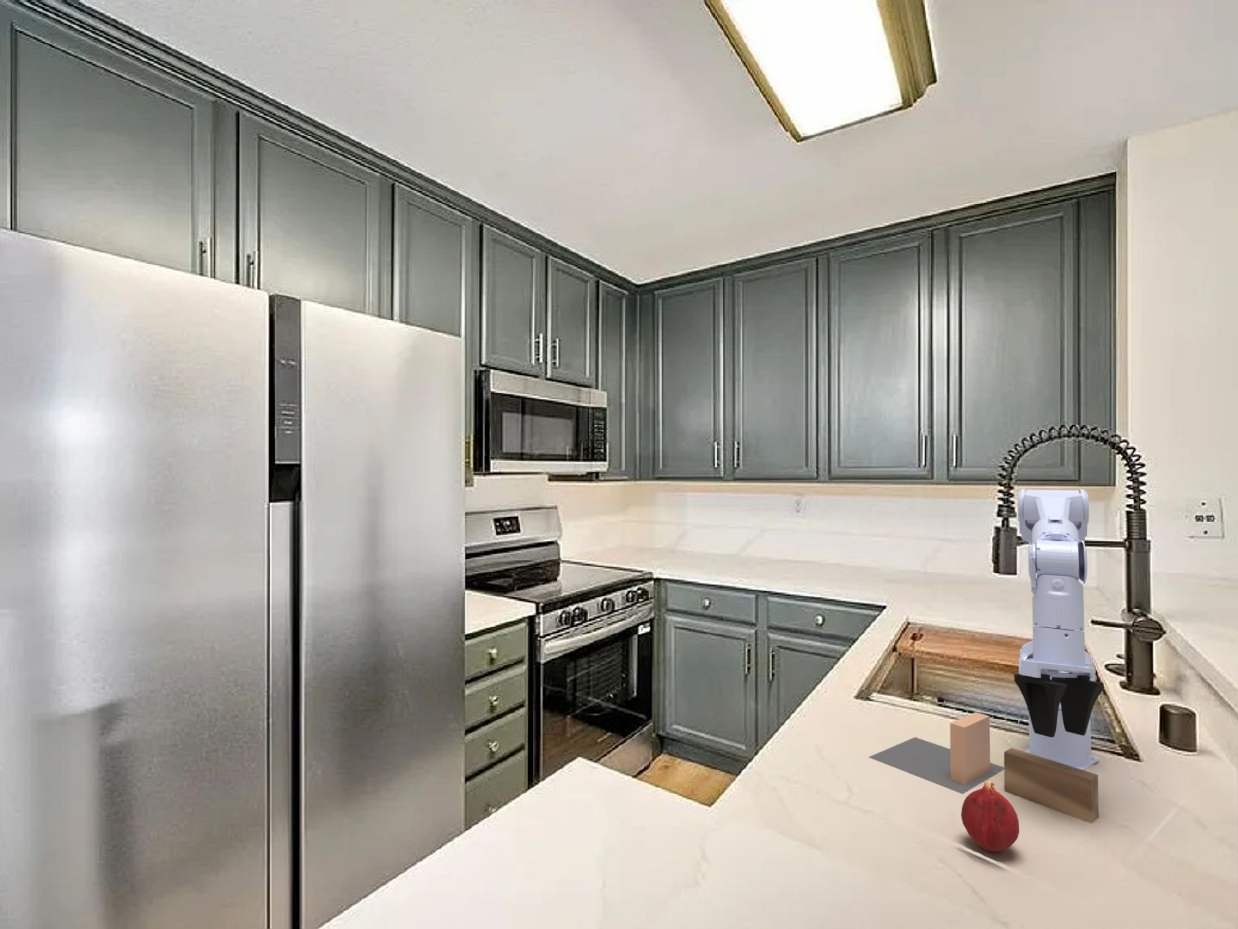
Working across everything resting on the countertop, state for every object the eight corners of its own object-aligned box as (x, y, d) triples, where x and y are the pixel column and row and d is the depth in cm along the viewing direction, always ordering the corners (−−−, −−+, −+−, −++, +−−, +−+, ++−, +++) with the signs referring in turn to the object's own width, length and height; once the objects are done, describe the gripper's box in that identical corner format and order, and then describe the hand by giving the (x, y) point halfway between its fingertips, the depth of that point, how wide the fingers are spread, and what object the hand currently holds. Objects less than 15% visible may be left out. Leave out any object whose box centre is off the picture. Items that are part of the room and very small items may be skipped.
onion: (1029, 871, 67) (1028, 797, 68) (972, 863, 69) (971, 791, 69) (1006, 842, 73) (1006, 773, 73) (954, 835, 74) (954, 768, 75)
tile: (975, 765, 93) (975, 712, 93) (990, 770, 91) (989, 716, 92) (950, 779, 88) (950, 723, 88) (965, 785, 86) (964, 727, 87)
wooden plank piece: (1012, 790, 86) (1011, 747, 87) (1098, 822, 78) (1097, 774, 78) (1004, 795, 85) (1004, 751, 85) (1092, 828, 77) (1091, 779, 77)
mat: (914, 740, 103) (914, 737, 103) (1006, 771, 92) (1006, 768, 92) (868, 760, 95) (868, 757, 95) (962, 797, 84) (962, 793, 84)
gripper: (1062, 630, 76) (1064, 745, 74) (1119, 635, 83) (1123, 741, 80) (1003, 623, 82) (1004, 729, 80) (1061, 628, 89) (1063, 726, 86)
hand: (1060, 734), depth 80 cm, fingers open, 7 cm apart
